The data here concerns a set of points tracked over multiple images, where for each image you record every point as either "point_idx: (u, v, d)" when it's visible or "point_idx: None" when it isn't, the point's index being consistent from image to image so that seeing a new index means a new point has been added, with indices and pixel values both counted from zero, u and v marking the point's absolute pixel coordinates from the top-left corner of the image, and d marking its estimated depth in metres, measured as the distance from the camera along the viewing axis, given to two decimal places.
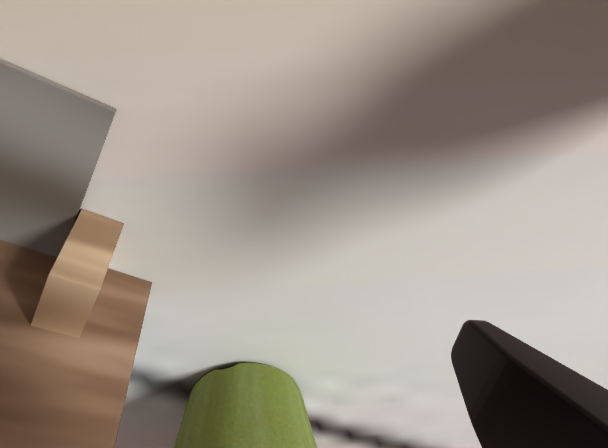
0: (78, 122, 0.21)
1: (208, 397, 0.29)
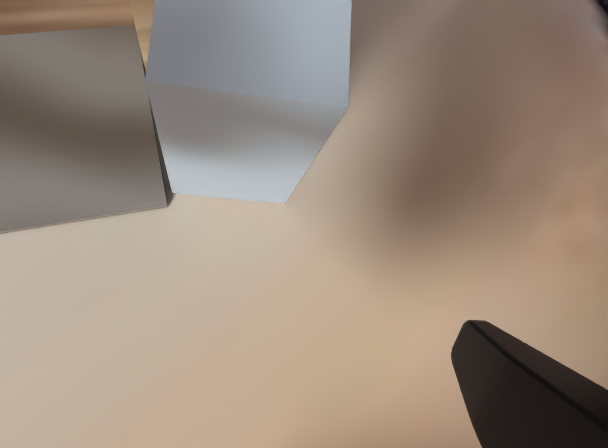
0: None
1: None
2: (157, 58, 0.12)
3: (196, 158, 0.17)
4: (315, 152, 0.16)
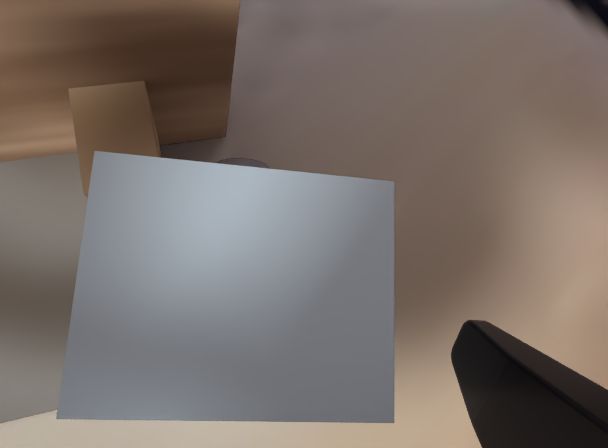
0: None
1: None
2: (79, 373, 0.07)
3: None
4: None
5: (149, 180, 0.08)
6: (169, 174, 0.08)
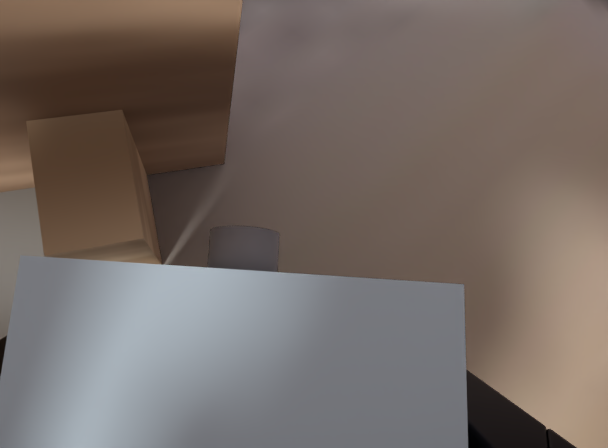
0: None
1: None
2: None
3: None
4: None
5: (104, 299, 0.05)
6: (135, 288, 0.05)
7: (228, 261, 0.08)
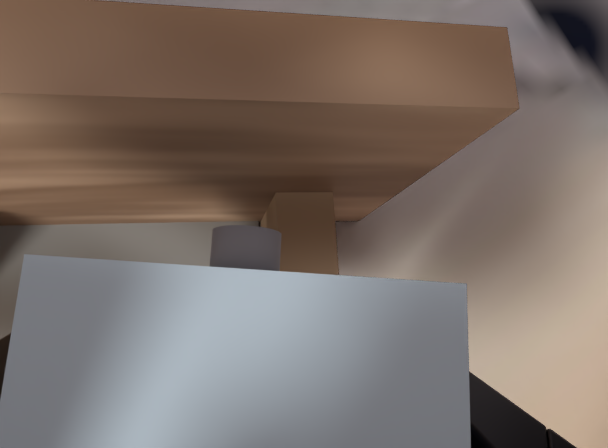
0: None
1: None
2: None
3: None
4: None
5: (108, 298, 0.05)
6: (138, 287, 0.05)
7: (230, 260, 0.08)
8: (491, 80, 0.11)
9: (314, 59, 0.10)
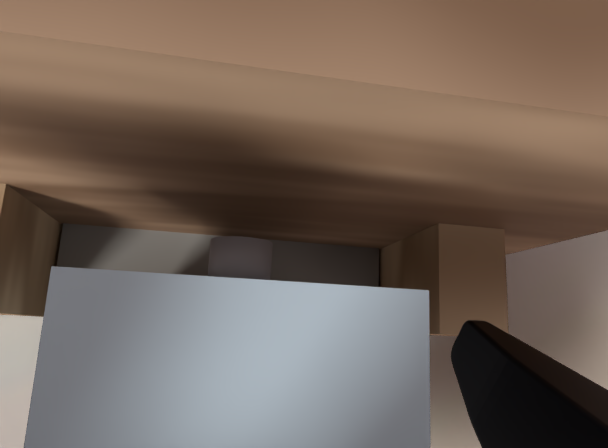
0: None
1: None
2: None
3: None
4: None
5: (122, 303, 0.06)
6: (147, 293, 0.06)
7: (227, 267, 0.09)
8: None
9: None
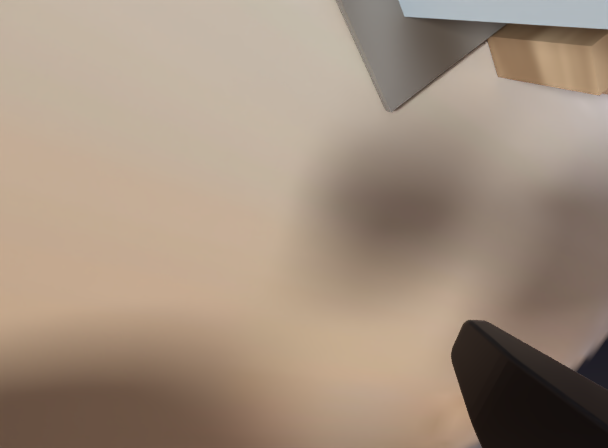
0: None
1: None
2: None
3: None
4: (560, 23, 0.13)
5: None
6: None
7: None
8: None
9: None
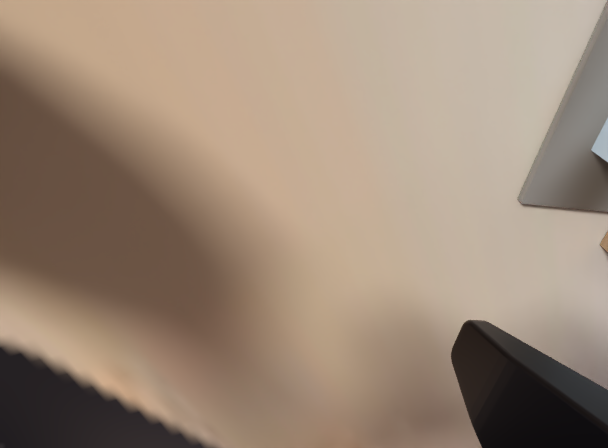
0: None
1: None
2: None
3: None
4: None
5: None
6: None
7: None
8: None
9: None
